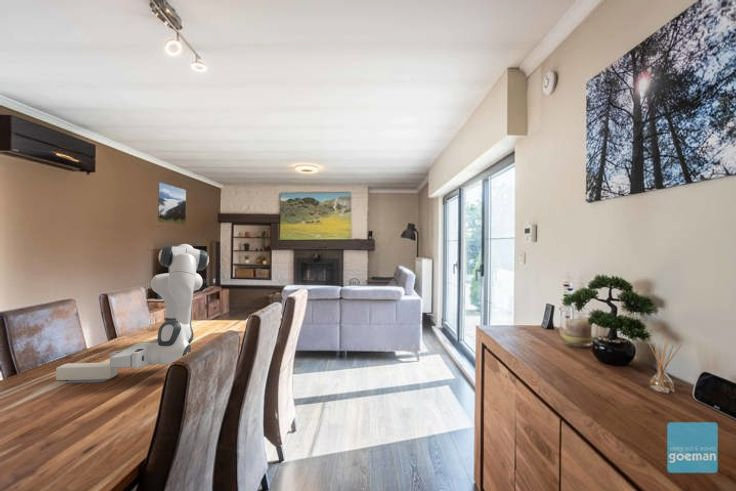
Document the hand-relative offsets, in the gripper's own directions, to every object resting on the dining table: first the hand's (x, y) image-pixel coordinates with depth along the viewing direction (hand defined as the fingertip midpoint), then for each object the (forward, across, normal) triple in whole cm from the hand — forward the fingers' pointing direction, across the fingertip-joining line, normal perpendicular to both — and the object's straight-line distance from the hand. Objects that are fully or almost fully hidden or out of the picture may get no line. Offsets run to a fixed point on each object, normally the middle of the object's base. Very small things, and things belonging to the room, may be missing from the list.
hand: (111, 354), depth 139 cm
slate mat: (+7, 0, +10) cm, 12 cm away
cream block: (-1, 0, +7) cm, 7 cm away
